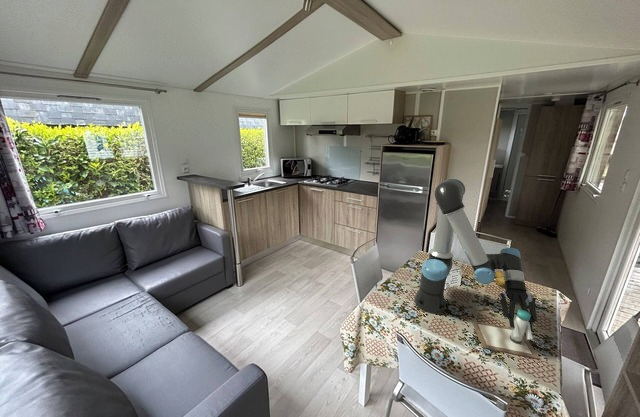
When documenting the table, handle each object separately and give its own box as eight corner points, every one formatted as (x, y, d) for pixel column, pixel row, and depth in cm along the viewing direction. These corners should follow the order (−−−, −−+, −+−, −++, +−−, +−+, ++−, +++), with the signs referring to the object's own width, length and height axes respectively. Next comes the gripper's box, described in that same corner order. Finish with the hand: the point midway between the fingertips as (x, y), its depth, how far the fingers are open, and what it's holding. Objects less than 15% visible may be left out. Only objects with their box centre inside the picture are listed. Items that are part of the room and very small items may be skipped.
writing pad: (482, 348, 106) (483, 346, 106) (472, 322, 121) (472, 320, 121) (539, 359, 101) (539, 358, 101) (521, 331, 116) (521, 329, 116)
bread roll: (516, 283, 153) (519, 271, 151) (523, 292, 145) (526, 280, 142) (492, 279, 157) (494, 268, 155) (497, 288, 148) (500, 276, 146)
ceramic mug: (530, 309, 130) (534, 296, 128) (511, 304, 134) (514, 291, 132) (527, 298, 139) (530, 286, 137) (509, 294, 143) (512, 282, 141)
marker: (511, 342, 108) (520, 315, 104) (507, 335, 112) (516, 308, 108) (523, 345, 107) (533, 317, 103) (519, 337, 111) (528, 311, 107)
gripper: (532, 286, 116) (542, 343, 106) (490, 280, 121) (495, 334, 110) (541, 282, 110) (553, 342, 99) (496, 276, 114) (502, 333, 104)
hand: (522, 338), depth 105 cm, fingers closed on marker, 4 cm apart
